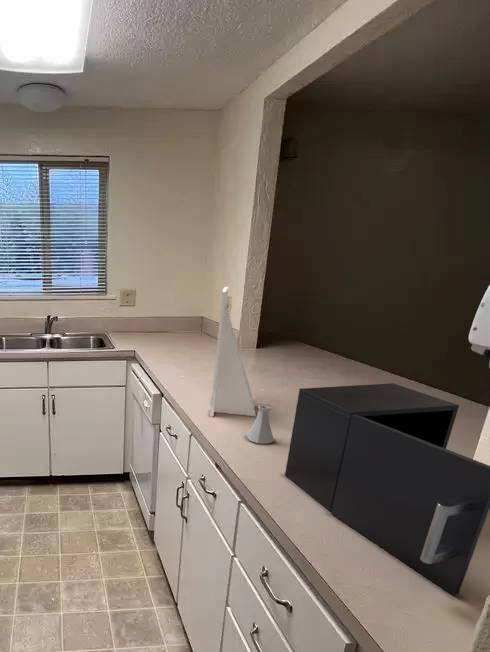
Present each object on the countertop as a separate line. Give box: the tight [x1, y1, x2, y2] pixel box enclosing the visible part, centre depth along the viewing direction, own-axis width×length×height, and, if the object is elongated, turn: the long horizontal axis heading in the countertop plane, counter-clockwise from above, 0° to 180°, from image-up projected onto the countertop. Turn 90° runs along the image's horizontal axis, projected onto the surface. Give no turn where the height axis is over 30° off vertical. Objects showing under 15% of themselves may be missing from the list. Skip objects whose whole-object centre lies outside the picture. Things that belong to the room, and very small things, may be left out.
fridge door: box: [330, 414, 490, 596], centre depth 74 cm, size 6×24×22 cm, turn 17°
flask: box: [246, 404, 275, 445], centre depth 123 cm, size 7×7×10 cm
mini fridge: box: [284, 382, 460, 513], centre depth 95 cm, size 16×24×22 cm, turn 99°
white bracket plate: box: [209, 286, 257, 418], centre depth 143 cm, size 20×14×40 cm
